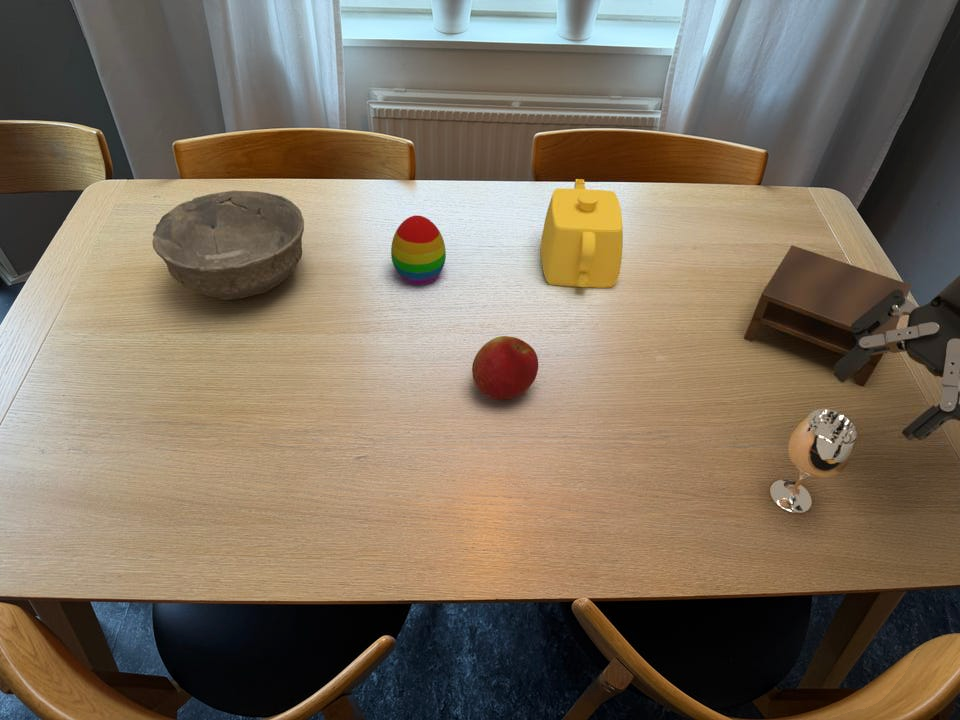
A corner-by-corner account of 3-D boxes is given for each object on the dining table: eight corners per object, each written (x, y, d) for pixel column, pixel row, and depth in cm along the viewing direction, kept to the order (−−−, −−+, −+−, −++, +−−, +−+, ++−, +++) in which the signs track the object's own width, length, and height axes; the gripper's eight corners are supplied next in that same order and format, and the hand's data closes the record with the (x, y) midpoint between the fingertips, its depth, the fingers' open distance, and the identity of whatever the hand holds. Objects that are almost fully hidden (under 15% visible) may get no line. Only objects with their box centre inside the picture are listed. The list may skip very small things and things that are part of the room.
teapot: (538, 223, 113) (545, 159, 104) (611, 227, 112) (623, 163, 104) (540, 296, 98) (547, 228, 90) (623, 300, 98) (637, 233, 90)
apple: (527, 418, 81) (532, 372, 75) (464, 403, 82) (465, 357, 77) (540, 376, 86) (546, 330, 81) (481, 363, 88) (482, 317, 82)
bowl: (343, 274, 101) (334, 218, 94) (235, 346, 89) (216, 288, 82) (253, 228, 110) (239, 174, 103) (143, 289, 98) (119, 231, 91)
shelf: (885, 329, 94) (911, 284, 89) (863, 386, 86) (891, 341, 80) (773, 288, 101) (791, 244, 95) (743, 338, 92) (761, 293, 87)
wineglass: (795, 469, 76) (836, 399, 68) (829, 510, 72) (877, 441, 64) (753, 482, 75) (789, 412, 66) (785, 524, 71) (828, 455, 62)
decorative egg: (391, 290, 99) (386, 233, 92) (394, 258, 104) (389, 203, 98) (446, 290, 99) (444, 233, 92) (446, 258, 105) (445, 203, 98)
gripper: (939, 231, 64) (807, 350, 68) (1089, 318, 54) (926, 450, 59) (948, 263, 69) (825, 372, 73) (1086, 347, 60) (936, 466, 64)
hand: (870, 406), depth 66 cm, fingers open, 8 cm apart
